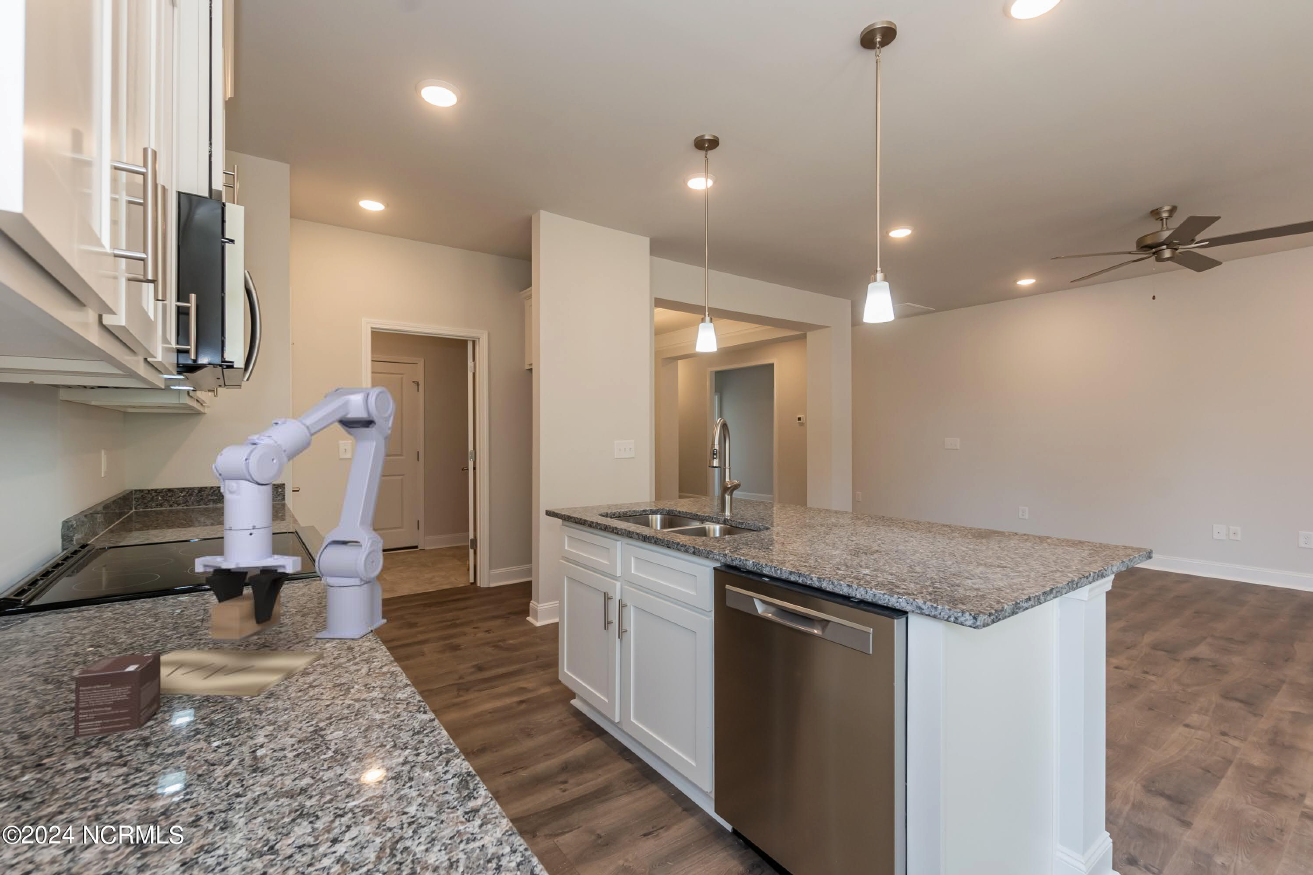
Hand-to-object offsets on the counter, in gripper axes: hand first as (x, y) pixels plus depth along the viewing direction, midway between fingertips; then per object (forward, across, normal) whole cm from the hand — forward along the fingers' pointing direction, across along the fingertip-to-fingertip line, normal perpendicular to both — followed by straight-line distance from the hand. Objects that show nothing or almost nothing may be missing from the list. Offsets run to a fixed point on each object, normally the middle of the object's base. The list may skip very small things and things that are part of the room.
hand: (248, 621), depth 83 cm
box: (+8, -5, -14) cm, 17 cm away
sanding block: (+2, 0, 0) cm, 2 cm away
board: (+8, -6, +1) cm, 10 cm away
